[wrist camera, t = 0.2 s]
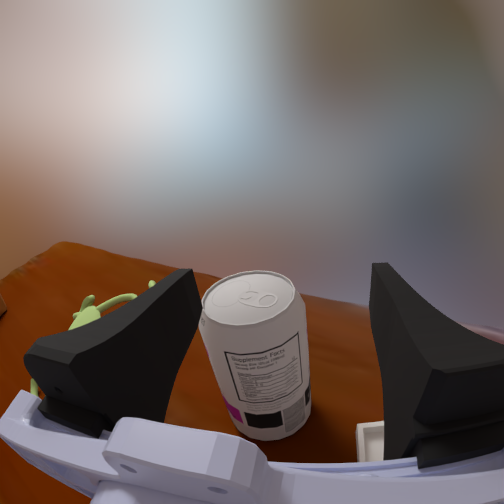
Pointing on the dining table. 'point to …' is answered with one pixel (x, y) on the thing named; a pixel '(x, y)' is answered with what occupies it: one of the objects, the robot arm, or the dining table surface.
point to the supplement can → (259, 352)
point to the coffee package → (2, 306)
